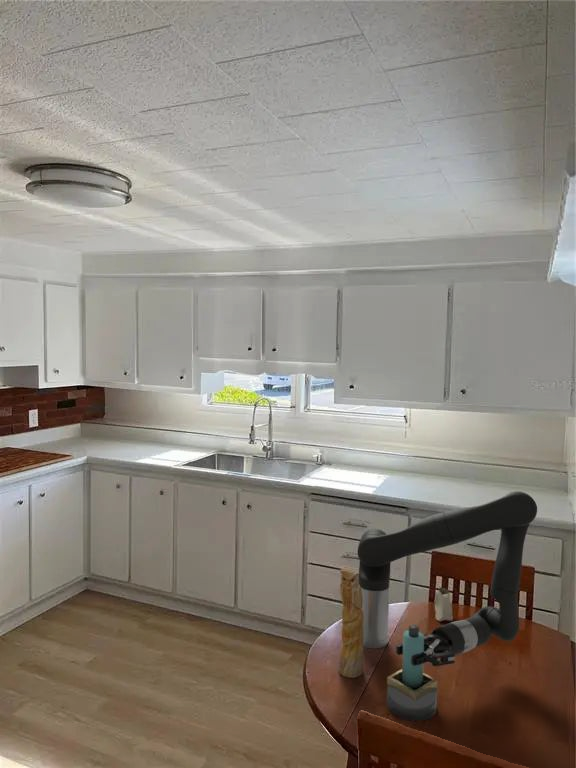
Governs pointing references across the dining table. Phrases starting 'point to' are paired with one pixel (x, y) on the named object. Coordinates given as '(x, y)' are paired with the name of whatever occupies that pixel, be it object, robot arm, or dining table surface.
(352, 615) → the sculpture
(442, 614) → the grey sack
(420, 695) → the disc with square collar
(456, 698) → the dining table surface
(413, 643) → the bottle
